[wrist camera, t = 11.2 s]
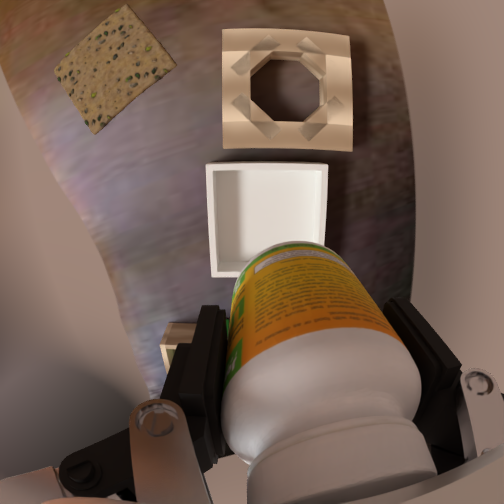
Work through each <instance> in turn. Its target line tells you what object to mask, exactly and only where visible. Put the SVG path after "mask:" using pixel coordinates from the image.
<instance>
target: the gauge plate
mask: <svg viewBox="0 0 504 504" xmlns="http://www.w3.org/2000/svg"><path fill="white" fill-rule="evenodd" d="M269 60H294V61H300V62H301V63H302V64H303V65H304V66H305V67H306V68H307V69H308V70H309V71H310V72H311V73H312V74H313V75H315V76H316V77H317V78H318V79H319V89H320V106H319V107H318V108H317V109H316V110H315V111H314V112H313V113H312V114H311V115H310V116H308V117H307V118H306V119H305V120H304V121H303V122H286V121H273V120H272V119H271V118H270V117H269V116H268V115H267V114H266V113H265V112H263V111H262V110H261V109H260V108H259V107H258V106H257V105H256V104H255V103H254V102H253V101H252V100H250V77H251V76H252V75H253V74H255V73H256V72H257V71H258V70H259V69H260V68H261V67H262V66H264V65H265V64H266V63H267V62H268V61H269ZM222 108H223V149H230V148H297V149H321V150H338V151H352V147H353V100H352V71H351V54H350V40H349V36H345V35H338V34H331V33H323V32H314V31H304V30H290V29H262V28H249V29H223V31H222Z"/></svg>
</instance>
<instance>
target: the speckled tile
mask: <svg viewBox="0 0 504 504" xmlns="http://www.w3.org/2000/svg"><path fill="white" fill-rule="evenodd" d="M176 66H177V64H176V63H175V62H174V61H173V59H172V58H171V57H170V55H169V54H168V53H167V51H166V50H165V49H164V48H163V47H162V45H161V43H160V42H159V41H158V40H156V38H155V37H154V36H153V34H152V33H151V32H150V31H149V30H148V28H147V27H146V26H145V25H144V23H143V22H142V21H141V20H140V19H139V18H138V17H137V16H136V14H135V13H134V12H133V10H132V9H131V8H130V7H129V5H127V4H126V5H125V6H123V7H122V8H119V9H117V10H116V11H115V12H114V13H113V14H112V15H110V16H109V17H108V18H107V19H106V20H104V21H103V22H102V23H101V24H100V25H99V26H98V27H97V28H95V29H94V30H93V31H92V32H91V33H90V34H89V35H88V36H87V37H86V38H84V39H83V40H82V41H81V42H80V43H79V44H78V45H77V46H75V47H74V48H73V49H72V50H71V51H70V52H68V53H67V54H66V55H65V57H64V58H63V59H62V61H61V62H60V63H59V64H58V65H57V66H56V68H55V69H54V72H55V74H56V76H57V77H58V81H60V83H61V84H62V86H63V88H64V89H65V90H66V92H67V94H68V96H69V97H70V99H71V100H72V102H73V103H74V105H75V106H76V108H77V109H78V111H79V112H80V115H81V116H82V118H83V119H84V120H85V124H86V125H88V127H89V129H90V130H91V132H92V133H93V134H97V133H98V132H99V131H100V130H102V129H103V128H104V126H105V125H106V124H107V123H108V122H109V121H111V120H112V119H113V117H115V116H116V115H117V114H119V112H121V111H122V110H123V109H124V108H125V107H126V106H127V105H128V104H129V103H130V102H132V101H133V100H134V99H135V98H136V97H137V96H139V95H140V94H141V93H143V92H144V91H145V90H146V89H147V88H149V87H150V86H151V85H153V84H154V83H156V82H157V81H158V80H159V79H160V78H162V77H163V76H164V75H166V74H167V73H168V72H169V71H171V70H172V69H173V68H175V67H176Z"/></svg>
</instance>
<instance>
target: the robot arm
mask: <svg viewBox="0 0 504 504" xmlns="http://www.w3.org/2000/svg"><path fill="white" fill-rule="evenodd" d="M383 315H384V316H385V318H386V319H387V321H388V322H389V323H390V325H391V326H392V328H393V329H394V330H395V332H396V333H397V335H398V336H399V337H400V339H401V340H402V342H403V343H404V345H405V347H406V348H407V350H408V351H409V353H410V355H411V357H412V359H413V360H414V362H415V364H416V366H417V368H418V371H419V374H420V378H421V398H420V403H419V406H418V409H417V412H416V414H415V416H414V418H413V420H412V422H413V423H414V424H415V425H416V427H417V429H418V430H419V431H420V432H421V433H422V434H423V436H424V439H425V442H426V445H427V447H428V450H429V452H430V455H431V457H432V460H433V462H434V465H435V467H436V470H437V476H435V477H433V478H430V479H427V480H425V481H422V482H419V483H416V484H414V485H411V486H408V487H405V488H401V489H398V490H395V491H392V492H388V493H385V494H381V495H377V496H373V497H369V498H365V499H361V500H356V501H351V502H347V503H341V504H504V394H502V393H501V392H500V390H499V387H498V384H497V382H496V380H495V378H494V377H493V376H492V375H491V374H490V373H488V372H487V371H485V370H482V369H479V368H471V369H468V370H466V371H464V372H463V373H462V371H461V370H460V368H461V366H462V364H461V363H460V361H459V360H458V359H457V358H456V356H455V355H454V354H453V353H452V351H451V350H450V349H449V348H448V346H447V345H446V344H445V343H444V342H443V340H442V339H441V338H440V336H439V335H438V334H437V333H436V332H435V331H434V329H433V328H432V327H431V326H430V324H429V323H428V322H427V321H426V320H425V319H424V317H423V316H422V315H421V314H420V313H419V312H418V311H417V309H416V308H415V307H414V306H413V305H412V304H411V303H410V301H409V300H408V299H407V298H406V297H398V298H391V299H390V300H389V301H388V302H386V303H385V305H384V309H383ZM227 345H228V338H227V325H226V312H225V310H220V309H219V305H202V307H201V311H200V314H199V318H198V321H197V325H196V328H195V332H194V336H193V339H192V343H178V345H177V347H176V350H175V353H174V356H173V359H172V362H171V365H170V368H169V371H168V374H167V377H166V380H165V384H164V387H163V390H162V393H161V396H160V399H153V400H149V401H146V402H143V403H141V404H140V405H138V406H137V407H136V408H135V409H134V410H133V412H132V413H131V415H130V419H129V428H127V429H125V430H123V431H121V432H119V433H117V434H115V435H112V436H110V437H108V438H106V439H104V440H102V441H99V442H97V443H95V444H93V445H91V446H88V447H86V448H84V449H81V450H79V451H77V452H74V453H72V454H71V455H69V456H67V457H66V458H65V459H64V460H63V461H62V462H61V465H60V467H59V468H57V469H54V468H53V467H52V466H50V467H47V468H44V469H40V470H36V471H33V472H29V473H25V474H21V475H17V476H13V477H9V478H5V479H3V480H1V481H0V504H214V503H213V500H212V497H211V494H210V491H209V488H208V485H207V482H206V479H205V476H204V473H205V472H206V471H208V470H209V469H211V468H212V467H213V464H217V462H218V455H224V453H225V441H226V440H225V438H224V435H223V432H222V428H221V399H222V390H223V382H224V372H225V363H226V354H227Z"/></svg>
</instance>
